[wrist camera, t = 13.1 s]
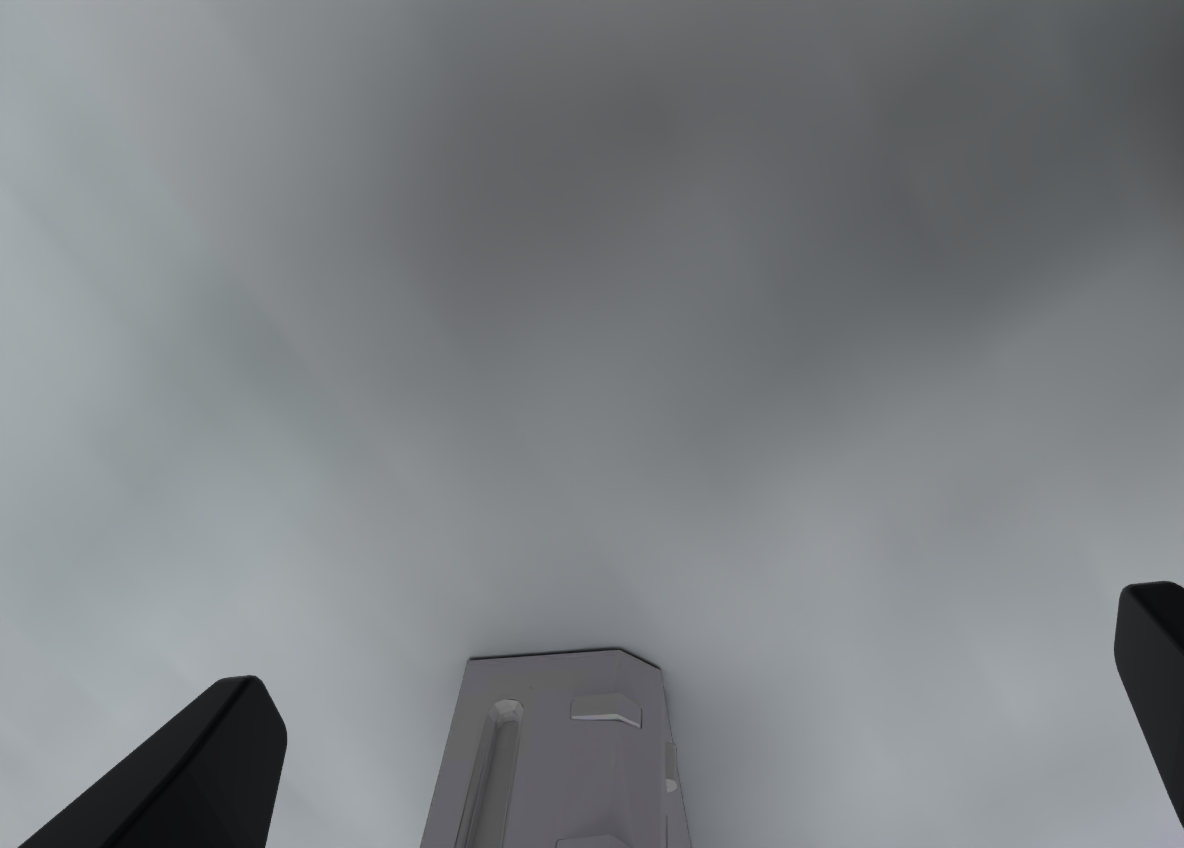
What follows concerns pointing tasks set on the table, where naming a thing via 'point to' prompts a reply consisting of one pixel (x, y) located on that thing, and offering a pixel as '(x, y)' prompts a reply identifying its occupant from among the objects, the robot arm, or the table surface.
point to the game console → (559, 757)
